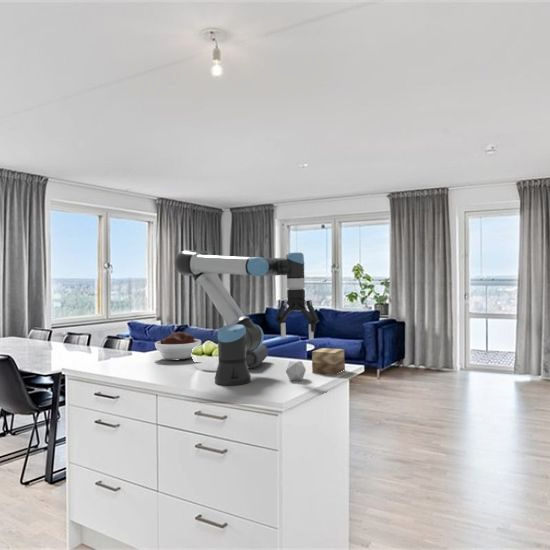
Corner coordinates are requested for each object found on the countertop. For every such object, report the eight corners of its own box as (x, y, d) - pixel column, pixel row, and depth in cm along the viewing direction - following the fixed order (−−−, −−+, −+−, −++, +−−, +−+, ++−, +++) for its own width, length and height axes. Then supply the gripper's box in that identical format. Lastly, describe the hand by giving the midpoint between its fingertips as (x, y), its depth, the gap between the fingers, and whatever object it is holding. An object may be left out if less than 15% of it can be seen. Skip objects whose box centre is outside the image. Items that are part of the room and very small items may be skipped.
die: (299, 384, 200) (310, 364, 203) (281, 373, 201) (292, 353, 204) (298, 387, 208) (309, 367, 211) (281, 377, 209) (292, 357, 212)
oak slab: (312, 362, 220) (311, 351, 220) (322, 358, 229) (322, 348, 229) (334, 364, 214) (334, 353, 214) (344, 360, 224) (344, 349, 224)
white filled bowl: (145, 361, 259) (144, 333, 259) (173, 354, 282) (172, 328, 282) (185, 364, 250) (184, 334, 250) (210, 356, 272) (209, 329, 273)
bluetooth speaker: (251, 361, 252) (251, 342, 252) (269, 361, 250) (268, 342, 250) (239, 370, 230) (239, 349, 230) (259, 370, 228) (258, 349, 228)
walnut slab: (312, 373, 219) (312, 362, 219) (323, 369, 229) (323, 358, 229) (334, 376, 213) (334, 364, 213) (344, 371, 223) (344, 360, 223)
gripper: (326, 288, 204) (327, 339, 204) (275, 288, 217) (277, 336, 217) (318, 289, 197) (319, 341, 197) (266, 289, 211) (267, 338, 211)
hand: (297, 338), depth 207 cm, fingers open, 13 cm apart
